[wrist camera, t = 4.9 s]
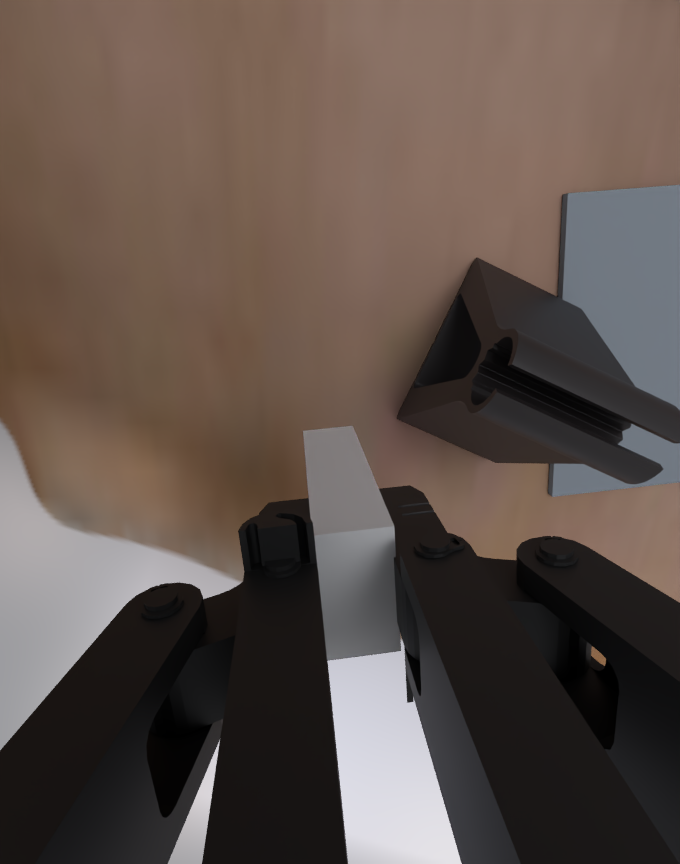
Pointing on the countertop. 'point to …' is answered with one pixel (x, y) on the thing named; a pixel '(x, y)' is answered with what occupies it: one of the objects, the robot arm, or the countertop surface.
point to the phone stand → (532, 383)
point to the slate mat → (626, 307)
